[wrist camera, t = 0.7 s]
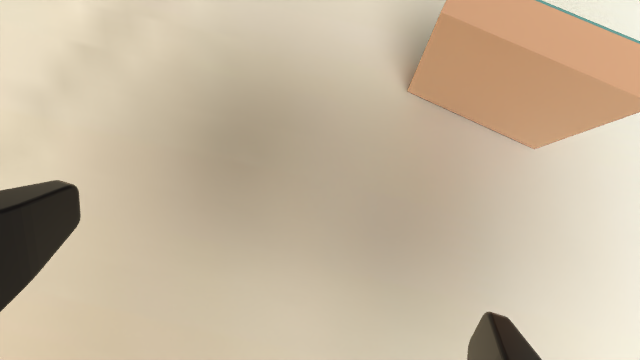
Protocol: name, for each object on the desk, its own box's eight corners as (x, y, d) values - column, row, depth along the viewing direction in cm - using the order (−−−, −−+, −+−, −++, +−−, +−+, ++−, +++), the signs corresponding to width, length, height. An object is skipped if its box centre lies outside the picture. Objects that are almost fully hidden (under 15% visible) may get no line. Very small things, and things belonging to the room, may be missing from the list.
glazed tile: (534, 149, 22) (658, 105, 13) (407, 91, 23) (440, 11, 14) (548, 119, 22) (682, 54, 13) (421, 62, 23) (464, -36, 14)
